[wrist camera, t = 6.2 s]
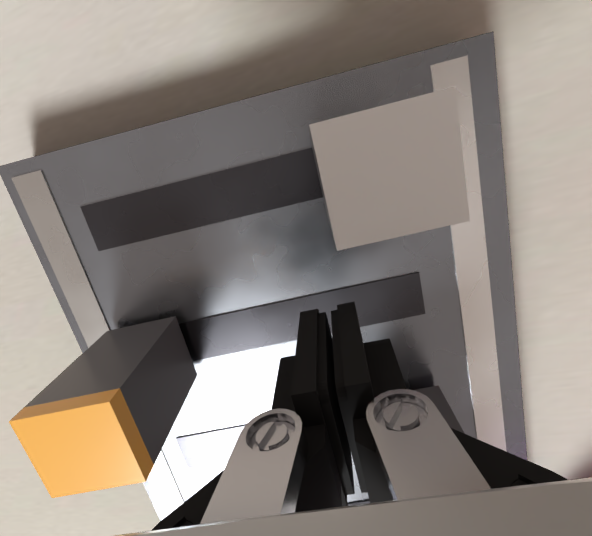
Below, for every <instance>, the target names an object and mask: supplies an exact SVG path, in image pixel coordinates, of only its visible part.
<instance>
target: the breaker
mask: <svg viewBox="0 0 592 536" xmlns="http://www.w3.org/2000/svg"><path fill="white" fill-rule="evenodd" d="M309 136H310V140H311V145H312V149H313V154H314V158H315V163H316V167H317V172H318V176H319V181H320V185H321V190H322V194H323V199H324V203H325V208H326V212H327V216H328V220H329V223H330V227H331V231H332V234H333V238H334V241H335V245H336V249H337V251H339V250H343V249H348V248H352V247H356V246H361V245H365V244H370V243H374V242H379V241H383V240H387V239H392V238H396V237H401V236H405V235H410V234H414V233H418V232H423V231H427V230H432V229H436V228H441V227H445V226H449V225H454V224H458V223H463V222H467V221H470V217H469V207H468V198H467V189H466V180H465V171H464V162H463V153H462V143H461V134H460V125H459V116H458V107H457V98H456V89H455V87H451V88H447V89H443V90H439V91H436V92H432V93H428V94H424V95H420V96H417V97H413V98H409V99H405V100H401V101H397V102H394V103H390V104H386V105H382V106H378V107H374V108H371V109H367V110H363V111H359V112H355V113H351V114H348V115H344V116H340V117H336V118H332V119H328V120H325V121H321V122H317V123H313V124H309Z"/></svg>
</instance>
